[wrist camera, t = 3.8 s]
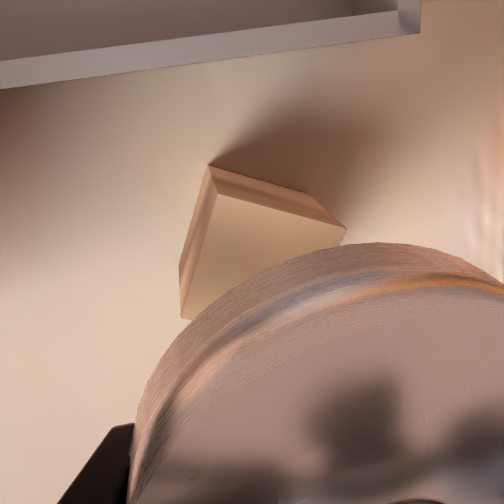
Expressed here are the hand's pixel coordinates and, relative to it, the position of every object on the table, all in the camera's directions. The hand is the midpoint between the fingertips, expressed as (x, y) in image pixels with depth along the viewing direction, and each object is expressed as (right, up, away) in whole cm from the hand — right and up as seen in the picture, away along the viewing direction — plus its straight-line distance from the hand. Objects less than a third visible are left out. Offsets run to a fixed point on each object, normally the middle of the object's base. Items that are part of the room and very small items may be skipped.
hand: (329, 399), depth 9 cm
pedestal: (-2, +4, +9) cm, 10 cm away
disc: (0, 0, -1) cm, 1 cm away
